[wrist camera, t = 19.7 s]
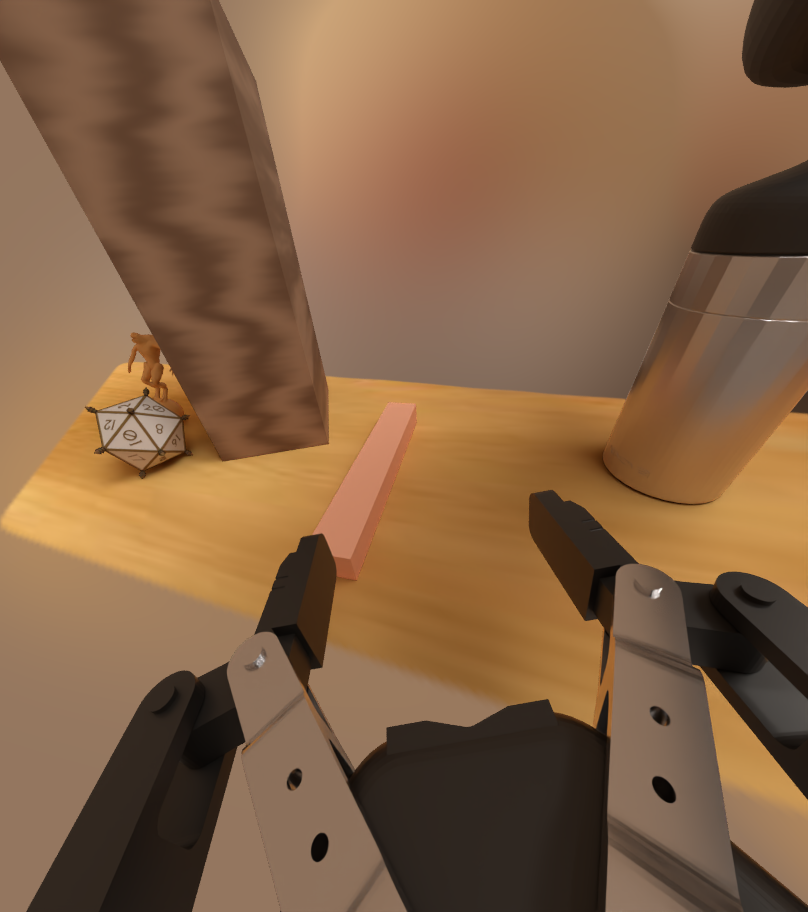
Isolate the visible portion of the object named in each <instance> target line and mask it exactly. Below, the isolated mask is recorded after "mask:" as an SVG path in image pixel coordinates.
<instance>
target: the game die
mask: <svg viewBox="0 0 808 912" xmlns="http://www.w3.org/2000/svg"><path fill="white" fill-rule="evenodd" d="M143 391H144V392H143V393H144V396H141V397H138V398H135V399H132V400H129V401H125V402H122V403H119V404H116V405H113V406H110V407H107V408H104V409H101V410H98V411H97V410H95V408H92V407H85V408H86V409H87V410H88V411H89V412H91V413H95V414H96V419H97V424H98V429H99V434H100V439H101V443H102V447H101V448H98V449H96V450H95V452H94V454H101V453H104V451H106V452H108V453H109V454H111V455H113V456H115V457H117V458H118V459H120V460H122V461H124V462H126V463H128V464H129V465H131V466H133V467H135V468H137V469H138V470H140V471H141V472H140V473H139V474H140V475H139V476H140V477H141V478H142V479H143V478H144V476H146V475H145V474H146V473H145V472H144V471H145V470H147V469H149V468H152V467H154V466H156V465H158V464H160V463H162V462H165V461H167V460H169V459H171V458H173V457H176V456H178V455H180V454H182V453H186V454H188V455H193V454H192V452H191V451H187V450H186V446H185V436H184V426H183V420H186V419H188V418H189V416H190V415H184V416H182V417H180V416H179V415H177V414H175V413H174V412H172V411H171V410H169V409H168V408H166V407H164V406H163V405H161V404H160V403H158V402H157V401H155V400H154V399H152V398H150V397H149V396H148V394H149V392H150V391H149V390H148V389H147V388H145V389H144V390H143Z"/></svg>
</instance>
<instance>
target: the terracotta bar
mask: <svg viewBox="0 0 808 912" xmlns="http://www.w3.org/2000/svg"><path fill="white" fill-rule="evenodd" d="M416 423H417V419H416V404H410V403H391V402H388V404H387V406H386V408H385V409H384V411H383V413H382V415H381V416H380V418H379V420H378V422H377V423H376V425H375V427H374V428H373V430H372V432H371V434H370V435H369V437H368V439H367V441H366V442H365V444H364V446H363V448H362V449H361V451H360V453H359V454H358V456H357V458H356V460H355V461H354V463H353V465H352V467H351V468H350V470H349V472H348V474H347V475H346V477H345V479H344V480H343V482H342V484H341V486H340V487H339V489H338V491H337V493H336V494H335V496H334V498H333V500H332V501H331V503H330V505H329V506H328V508H327V510H326V512H325V513H324V515H323V517H322V519H321V520H320V522H319V524H318V526H317V527H316V529H315V531H314V532H313V534H312V535H315V534H320V533H322V534H323V535H324V536H325V538H326V541H327V543H328V546H329V548H330V550H331V553H332V555H333V558H334V560H335V563H336V570H337V576H336V577H341V578H346V579H351V580H356V581H357V578H358V576H359V573H360V571H361V568H362V565H363V563H364V560H365V557H366V555H367V552H368V549H369V547H370V544H371V542H372V539H373V536H374V534H375V531H376V528H377V526H378V523H379V520H380V518H381V515H382V512H383V510H384V507H385V505H386V502H387V499H388V497H389V494H390V491H391V489H392V486H393V483H394V481H395V478H396V476H397V473H398V470H399V468H400V465H401V462H402V460H403V457H404V454H405V452H406V449H407V446H408V444H409V441H410V439H411V436H412V433H413V431H414V428H415V425H416Z"/></svg>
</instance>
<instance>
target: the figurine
mask: <svg viewBox="0 0 808 912" xmlns="http://www.w3.org/2000/svg"><path fill="white" fill-rule="evenodd" d="M131 337H132V338H133V339H132V341H133V342H134V343H137V344H136V345H135V346H134V347H133V349H132V354H131V356H130V358H129V363H128V373H130V372H131V365H132V363H133V361H134V359H135V356H136V351H139V353H140V354H141V355H142V356H143V357H144V358H145V360H146V361H147V362H144V371H143V375H142V378H141V380H142V382H143V383H145V384H147V385H149V386H151V387H154V388H156V392H155V397H154V398H152V399H154V400H155V401H157V402H158V403H160V404H161V405H163V406H164V407H166V408H168V409H169V410H171V411H172V412H174V413H175V414H177V415H179V416H180V417H182V416H184V411H183V409H182V407H181V406H180V405H179V404H178V403H177V402H175V401H173V400H170V399H167V395H168V388H167V386H166V384H165V383H163V382H159V381H160V379H161V377H162V374H163V369H164V367H163V365H162V364H160V363H159V362H160V360H159V356H160V347H159V346H158V344H157V342H156V340H155V338H154V337H153V335H140V334H138V333H131ZM171 370H172V369H170V371H171ZM172 376H173V371H172ZM150 378H151V380H152V382H150ZM160 387H161V388H164V390H163V396H162V398H160Z"/></svg>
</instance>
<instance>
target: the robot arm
mask: <svg viewBox="0 0 808 912" xmlns="http://www.w3.org/2000/svg"><path fill="white" fill-rule="evenodd" d="M742 61H743V66H744V71H745V74H746V76H747V77H748V78H749V79H750V80H751V81H752V82H753V83H755V84H757V85H761V86H768V87H784V88H786V87H798V86H806V85H808V0H754V3H753V6H752V9H751V12H750V15H749V19H748V22H747V26H746V30H745V36H744V41H743V51H742ZM691 248H692V250H691V251H690V252H689V254H688V256H687V259H686V261H685V263H684V266H683V268H682V270H681V273H680V275H679V277H678V280H677V282H676V285H675V287H674V289H673V291H672V294H671V296H670V299H669V301H668V303H667V306H666V308H665V310H664V313H663V315H662V317H661V320H660V322H659V324H658V327H657V329H656V331H655V334H654V336H653V338H652V341H651V343H650V345H649V348H648V350H647V352H646V354H645V357H644V359H643V361H642V364H641V366H640V368H639V371H638V373H637V375H636V378H635V380H634V382H633V385H632V387H631V389H630V392H629V394H628V396H627V399H626V401H625V403H624V406H623V408H622V410H621V413H620V415H619V417H618V419H617V422H616V424H615V426H614V429H613V431H612V433H611V436H610V438H609V440H608V443H607V445H606V447H605V450H604V452H603V461H604V464H605V466H606V467H607V469H608V470H609V471H610V472H611V473H612V474H613V475H614V476H615V477H616V478H618V479H619V480H620V481H622V482H623V483H625V484H626V485H628V486H630V487H632V488H634V489H635V490H638V491H640V492H642V493H645V494H647V495H650V496H653V497H656V498H659V499H662V500H667V501H672V502H677V503H687V504H697V503H706V502H710V501H714V500H715V499H717V498H719V497H720V496H721V495H722V494H723V492H724V491H725V490H726V489H727V488H728V486H729V485H730V484H731V483H732V482H733V480H734V479H735V478H736V477H737V475H738V474H739V473H740V472H741V471H742V469H743V468H744V467H745V466H746V465H747V463H748V462H749V461H750V460H751V459H752V458H753V456H754V455H755V454H756V453H757V452H758V450H759V449H760V448H761V447H762V445H763V444H764V443H765V442H766V441H767V439H768V438H769V437H770V436H771V435H772V433H773V432H774V431H775V430H776V428H777V427H778V426H779V425H780V424H781V422H782V421H783V420H784V419H785V417H786V416H787V415H788V414H789V413H790V411H791V410H792V409H793V408H794V406H795V405H796V404H797V403H798V402H799V400H800V399H801V398H802V397H803V395H804V394H805V393H806V392H807V391H808V160H807V161H805V162H803V163H801V164H799V165H797V166H795V167H792V168H790V169H787V170H785V171H782V172H779V173H777V174H774V175H772V176H769V177H766V178H764V179H761V180H758V181H756V182H753V183H750V184H747V185H745V186H742V187H740V188H737V189H735V190H732V191H731V192H729V193H727V194H725V195H723V196H722V197H720V198H719V199H718V200H717V201H716V202H715V203H714V204H713V205H712V206H711V207H710V209H709V210H708V212H707V213H706V215H705V217H704V219H703V221H702V223H701V225H700V228H699V230H698V232H697V235H696V237H695V240H694V242H693V244H692V247H691ZM529 529H530V533H531V536H532V538H533V540H534V542H535V543H536V545H537V547H538V548H539V550H540V551H541V553H542V554H543V556H544V558H545V559H546V561H547V562H548V564H549V565H550V567H551V568H552V570H553V572H554V573H555V575H556V576H557V578H558V579H559V581H560V583H561V584H562V586H563V587H564V589H565V590H566V592H567V594H568V595H569V597H570V598H571V600H572V601H573V603H574V605H575V606H576V608H577V609H578V611H579V612H580V614H581V616H582V617H583V619H584V620H585V621H588V620H593V619H598V620H599V621H600V623H601V624H602V626H603V627H604V628H603V633H602V645H601V657H600V670H599V682H598V692H597V700H596V706H595V713H594V721H593V727H592V726H590V725H588V724H586V723H584V722H583V721H580V720H578V719H576V718H573V717H571V716H567V715H564V714H560V713H555V712H553V710H552V707H551V705H550V703H549V700H548V699H546V700H540V701H535V702H529V703H523V704H518V705H512V706H507V707H506V708H504V709H502V710H500V711H499V712H497V713H495V714H493V715H491V716H490V717H488V718H486V719H484V720H483V721H481V722H479V723H477V724H475V725H474V726H471V727H462V726H456V725H450V724H444V723H437V722H430V721H422V722H415V723H410V724H404V725H399V726H393V727H388V728H387V742H385V743H383V744H381V745H380V746H379V747H377V748H376V749H375V750H373V751H372V752H371V753H370V754H369V755H368V756H367V757H366V758H365V759H364V760H363V761H362V762H361V764H360V765H359V766H358V767H357V769H356V770H354V767H353V766H352V764H351V762H350V760H349V758H348V757H347V755H346V753H345V751H344V750H343V748H342V746H341V745H340V743H339V741H338V739H337V738H336V736H335V734H334V732H333V730H332V728H331V726H330V724H329V722H328V721H327V718H326V717H325V715H324V713H323V711H322V709H321V707H320V705H319V703H318V701H317V699H316V697H315V695H314V694H313V692H312V690H311V688H310V686H309V684H308V680H309V675H310V670H311V669H316V668H322V666H323V660H324V654H325V647H326V641H327V634H328V628H329V622H330V615H331V609H332V602H333V596H334V590H335V583H336V576H337V570H336V563H335V560H334V558H333V555H332V553H331V550H330V548H329V546H328V543H327V541H326V538H325V536H324V535H323V534H322V533H320V534H315V535H310V536H305V537H302V538H301V540H300V543H299V546H298V549H297V552H294V553H290V554H289V555H288V556H287V558H286V559H285V560H284V561H283V563H282V564H281V565H280V568H279V570H278V573H277V576H276V580H275V581H274V584H273V586H272V591H271V592H270V594H269V597H268V600H267V602H266V605H265V608H264V610H263V613H262V616H261V618H260V621H259V624H258V627H257V629H256V632H255V634H254V635H253V636H251V637H250V638H248V639H247V640H246V641H245V642H243V643H242V644H241V645H240V646H239V647H238V649H237V650H236V651H235V652H234V654H233V655H232V657H231V659H230V661H229V662H228V663H226V664H224V665H222V666H220V667H218V668H216V669H214V670H212V671H210V672H208V673H206V674H204V675H202V676H200V677H198V678H197V677H195V675H193V674H192V673H191V672H189V671H179V672H176V673H174V674H171V675H170V676H168V677H166V678H165V679H163V680H162V681H161V682H160V683H158V684H157V685H156V686H155V687H154V688H153V689H152V690H151V691H150V692H149V693H148V694H147V696H146V697H145V698H144V700H143V701H142V702H141V704H140V705H139V707H138V709H137V711H136V713H135V715H134V716H133V718H132V720H131V722H130V724H129V725H128V727H127V729H126V731H125V733H124V734H123V736H122V738H121V740H120V742H119V744H118V745H117V747H116V749H115V751H114V753H113V754H112V756H111V758H110V760H109V762H108V764H107V765H106V767H105V769H104V771H103V773H102V775H101V776H100V778H99V780H98V782H97V784H96V786H95V787H94V789H93V791H92V793H91V795H90V796H89V799H88V800H87V802H86V804H85V806H84V808H83V809H82V811H81V813H80V815H79V817H78V819H77V820H76V822H75V824H74V826H73V827H72V829H71V831H70V833H69V835H68V837H67V839H66V840H65V842H64V844H63V846H62V848H61V849H60V851H59V853H58V855H57V857H56V858H55V860H54V862H53V864H52V866H51V868H50V869H49V871H48V873H47V875H46V877H45V879H44V881H43V882H42V884H41V886H40V888H39V890H38V892H37V893H36V895H35V897H34V899H33V901H32V902H31V904H30V906H29V908H28V910H27V912H192V909H193V905H194V902H195V898H196V894H197V891H198V887H199V884H200V880H201V877H202V873H203V869H204V866H205V862H206V858H207V854H208V851H209V848H210V844H211V840H212V837H213V833H214V829H215V826H216V822H217V818H218V815H219V811H220V808H221V804H222V801H223V797H224V793H225V790H226V786H227V782H228V779H229V775H230V772H231V768H232V764H233V761H234V757H235V754H236V749H237V746H239V745H241V744H243V743H244V742H246V747H245V748H244V749H243V750H242V762H243V767H244V771H245V775H246V779H247V782H248V786H249V790H250V794H251V798H252V801H253V805H254V809H255V813H256V817H257V821H258V825H259V828H260V832H261V836H262V840H263V844H264V848H265V851H266V855H267V859H268V863H269V867H270V871H271V874H272V878H273V882H274V886H275V890H276V894H277V897H278V901H279V905H280V908H281V911H280V912H808V905H807V904H805V903H804V902H803V901H802V900H801V899H800V898H798V897H797V896H796V895H795V894H794V893H792V892H791V891H790V890H789V889H788V888H787V887H785V886H784V885H783V884H782V883H781V882H779V881H778V880H777V879H776V878H775V877H773V876H772V875H771V874H770V873H769V872H768V871H766V870H765V869H764V868H763V867H762V866H760V865H759V864H758V863H757V862H756V861H754V860H753V859H752V858H751V857H750V856H748V855H747V854H746V853H745V852H743V850H741V849H740V848H739V847H738V846H736V845H735V844H734V843H733V842H732V841H731V840H730V837H729V831H728V824H727V818H726V812H725V806H724V800H723V793H722V787H721V781H720V775H719V768H718V762H717V756H716V750H715V744H714V737H713V731H712V725H711V719H710V712H709V706H708V700H707V694H706V688H705V682H704V678H703V676H702V673H701V671H700V670H699V669H697V668H694V667H693V666H692V665H698V666H700V667H701V668H702V670H703V671H704V672H705V673H706V674H707V676H708V677H709V678H710V679H711V681H712V682H713V683H714V684H715V686H716V687H717V688H718V689H719V691H720V692H721V693H722V694H723V696H724V697H725V698H726V699H727V700H728V702H729V703H730V704H731V705H732V707H733V708H734V709H735V710H736V712H737V713H738V714H739V715H740V717H741V718H742V719H743V720H744V722H745V723H746V724H747V725H748V726H749V728H750V729H751V730H752V731H753V733H754V734H755V735H756V736H757V738H758V739H759V740H760V741H761V743H762V744H763V745H764V746H765V747H766V749H767V750H768V751H769V752H770V754H771V755H772V756H773V757H774V759H775V760H776V761H777V762H778V764H779V765H780V766H781V767H782V769H783V770H784V771H785V772H786V773H787V775H788V776H789V777H790V778H791V780H792V781H793V782H794V783H795V785H796V786H797V787H798V788H799V790H800V791H801V792H802V793H803V795H804V796H805V797H806V798H807V799H808V607H806V606H805V605H804V604H802V603H801V602H800V601H798V600H797V599H796V598H794V597H793V596H792V595H791V594H789V593H788V592H787V591H785V590H784V589H782V588H781V587H779V586H778V585H776V584H774V583H772V582H770V581H768V580H766V579H763V578H761V577H758V576H755V575H752V574H748V573H742V572H726V573H723V574H721V575H719V576H718V578H717V579H716V581H715V584H714V585H712V584H701V583H690V582H680V581H674V580H673V579H672V578H670V577H669V576H668V575H666V574H665V573H663V572H662V571H660V570H658V569H655V568H653V567H650V566H647V565H642V564H639V563H638V562H636V561H635V559H634V558H633V557H632V556H631V555H630V554H629V553H628V552H627V551H626V550H625V549H624V548H623V547H622V546H621V545H620V544H619V543H618V542H617V541H616V540H615V539H614V538H613V537H612V536H611V535H610V534H609V533H608V532H607V531H606V530H605V529H603V527H602V526H601V525H600V524H599V523H598V522H597V521H595V519H594V518H593V517H592V516H591V515H590V513H589V512H588V511H587V510H586V509H585V508H583V507H581V506H579V505H577V504H576V503H574V502H572V501H565V502H564V501H563V500H562V499H561V498H560V497H559V496H558V495H557V494H556V493H555V492H554V491H553V490H548V491H542V492H537V493H532V494H531V495H530V498H529Z"/></svg>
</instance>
